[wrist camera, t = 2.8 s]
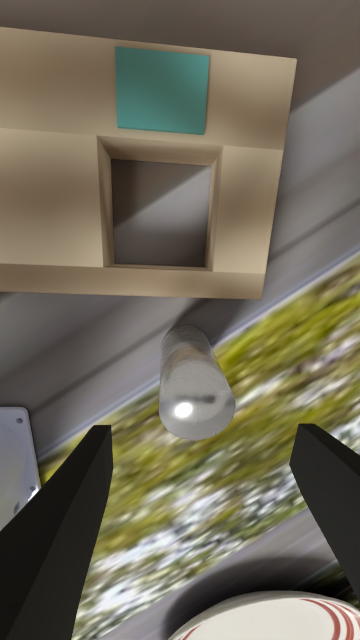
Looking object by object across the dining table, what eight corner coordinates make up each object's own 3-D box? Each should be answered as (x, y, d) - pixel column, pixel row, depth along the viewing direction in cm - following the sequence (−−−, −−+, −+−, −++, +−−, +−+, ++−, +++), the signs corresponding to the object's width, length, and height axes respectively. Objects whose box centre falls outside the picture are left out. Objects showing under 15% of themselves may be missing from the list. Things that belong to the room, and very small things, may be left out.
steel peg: (206, 369, 18) (230, 439, 12) (160, 369, 18) (158, 440, 11) (210, 325, 17) (239, 375, 11) (161, 324, 17) (159, 374, 10)
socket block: (244, 290, 17) (262, 300, 14) (-125, 278, 15) (-200, 286, 12) (268, 99, 13) (299, 55, 10) (-200, 55, 12) (-330, -14, 9)
